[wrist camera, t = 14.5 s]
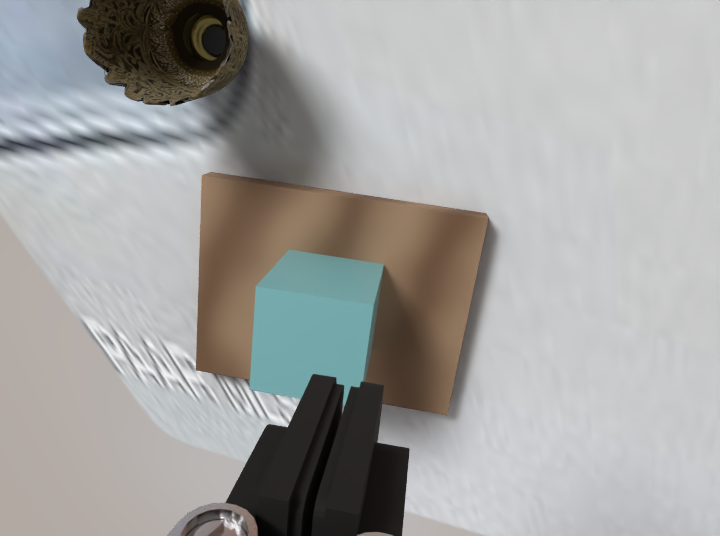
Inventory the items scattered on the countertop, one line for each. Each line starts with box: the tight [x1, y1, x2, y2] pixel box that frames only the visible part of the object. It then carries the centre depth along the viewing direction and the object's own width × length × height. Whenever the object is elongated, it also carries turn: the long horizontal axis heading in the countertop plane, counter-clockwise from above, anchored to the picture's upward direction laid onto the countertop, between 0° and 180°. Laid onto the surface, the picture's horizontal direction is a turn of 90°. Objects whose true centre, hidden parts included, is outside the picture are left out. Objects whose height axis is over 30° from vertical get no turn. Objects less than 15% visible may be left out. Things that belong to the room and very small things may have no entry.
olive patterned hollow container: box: [77, 0, 249, 106], centre depth 28 cm, size 8×7×8 cm
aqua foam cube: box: [249, 250, 384, 406], centre depth 31 cm, size 6×6×7 cm
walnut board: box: [196, 172, 489, 415], centre depth 35 cm, size 18×14×2 cm
